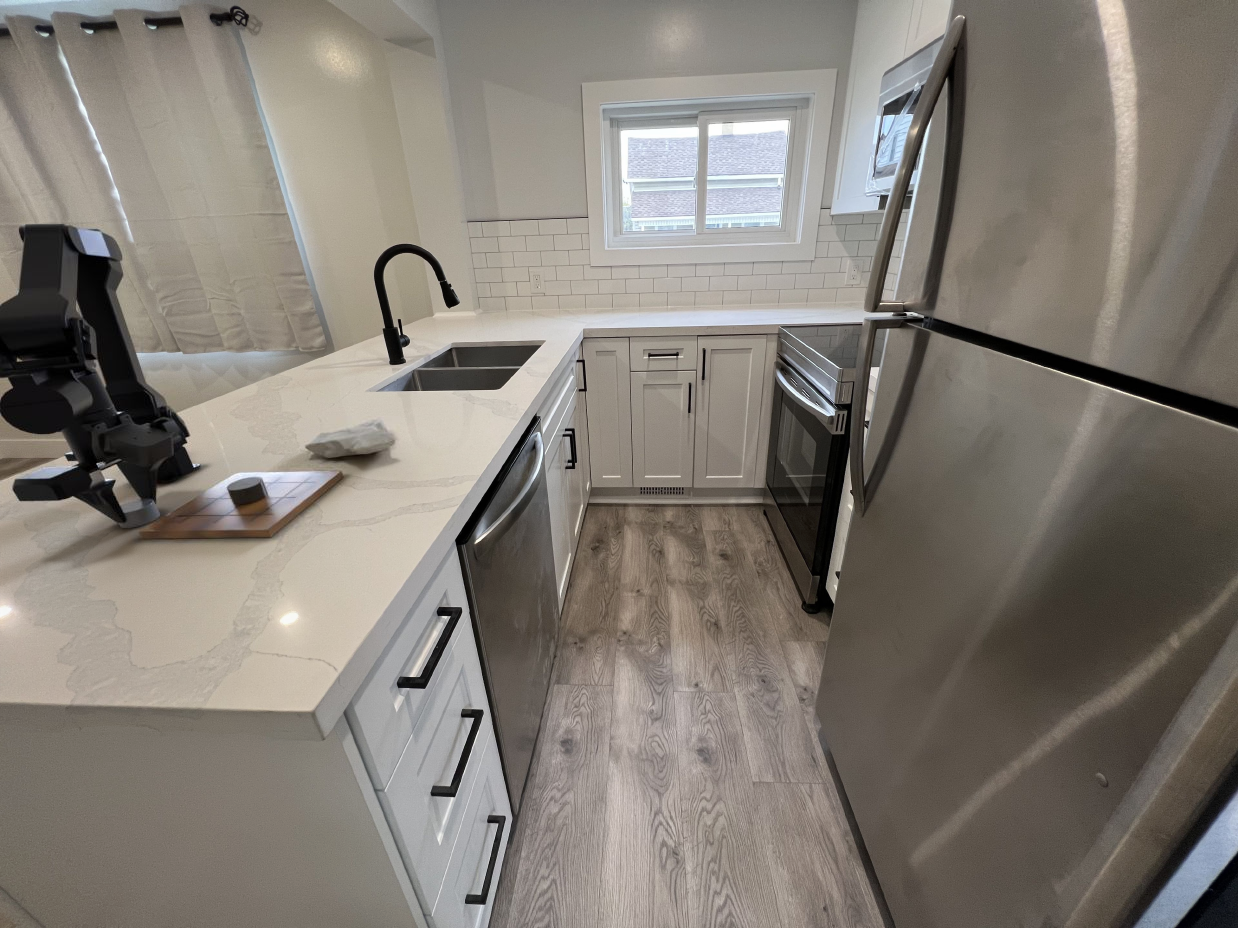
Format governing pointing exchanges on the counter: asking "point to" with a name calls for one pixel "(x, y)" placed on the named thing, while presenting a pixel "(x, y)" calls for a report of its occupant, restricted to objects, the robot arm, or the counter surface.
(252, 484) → the black stone
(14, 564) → the counter surface
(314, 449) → the rock
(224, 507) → the board
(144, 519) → the grey stone
